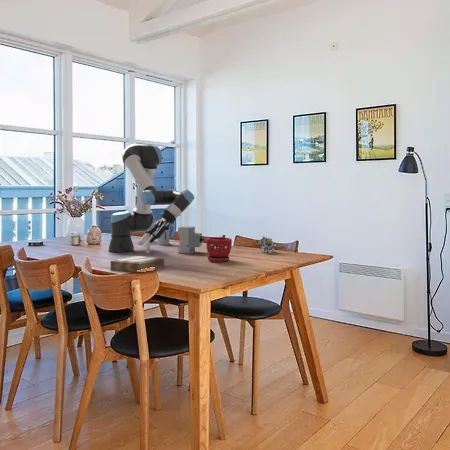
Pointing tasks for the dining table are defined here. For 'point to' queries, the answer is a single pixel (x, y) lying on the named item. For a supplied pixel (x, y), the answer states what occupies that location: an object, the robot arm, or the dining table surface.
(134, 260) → the stand
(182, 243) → the circuit breaker
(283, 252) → the dining table surface
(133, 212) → the robot arm
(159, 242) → the grey travel mug
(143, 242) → the pipe connector
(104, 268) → the dining table surface
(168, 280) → the dining table surface
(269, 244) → the passion flower
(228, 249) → the plant pot
